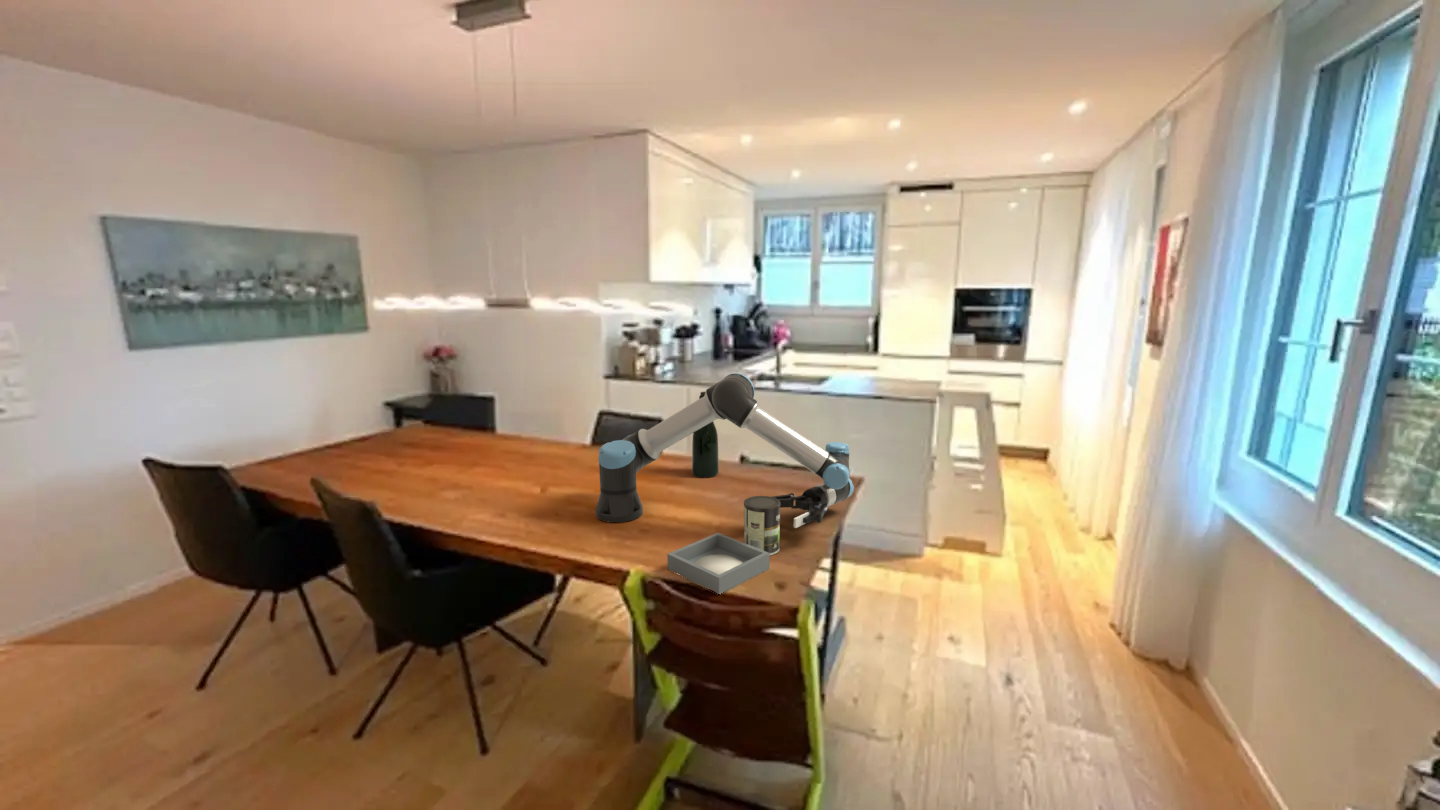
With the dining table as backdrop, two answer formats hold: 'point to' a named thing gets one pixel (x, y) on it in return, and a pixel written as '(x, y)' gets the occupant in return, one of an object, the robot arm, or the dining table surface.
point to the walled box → (718, 562)
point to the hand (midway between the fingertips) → (775, 516)
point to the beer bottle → (705, 450)
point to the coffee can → (762, 523)
